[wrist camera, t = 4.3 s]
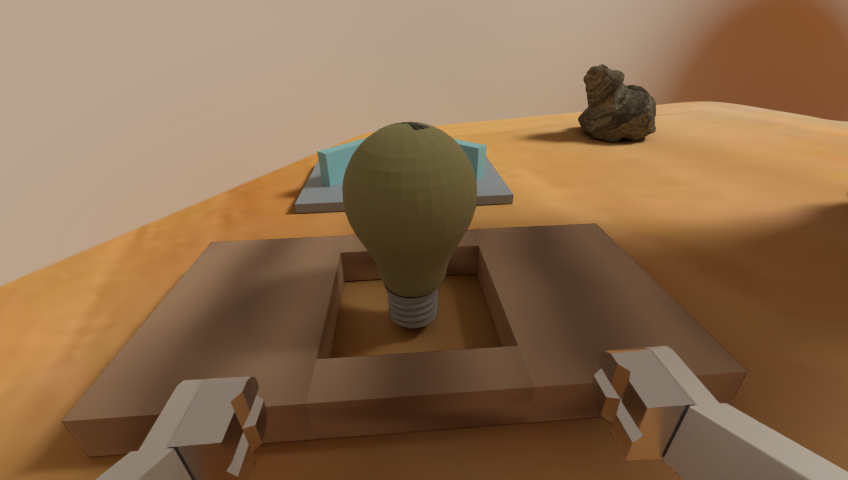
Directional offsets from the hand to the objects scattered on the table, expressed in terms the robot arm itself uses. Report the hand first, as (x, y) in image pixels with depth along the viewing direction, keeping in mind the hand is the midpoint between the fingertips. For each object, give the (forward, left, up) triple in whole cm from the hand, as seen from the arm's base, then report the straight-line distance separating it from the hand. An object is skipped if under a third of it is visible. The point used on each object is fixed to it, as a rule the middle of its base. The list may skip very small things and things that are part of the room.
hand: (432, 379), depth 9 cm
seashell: (-30, -43, -6) cm, 52 cm away
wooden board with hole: (0, -9, -6) cm, 10 cm away
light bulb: (0, -9, -6) cm, 11 cm away
